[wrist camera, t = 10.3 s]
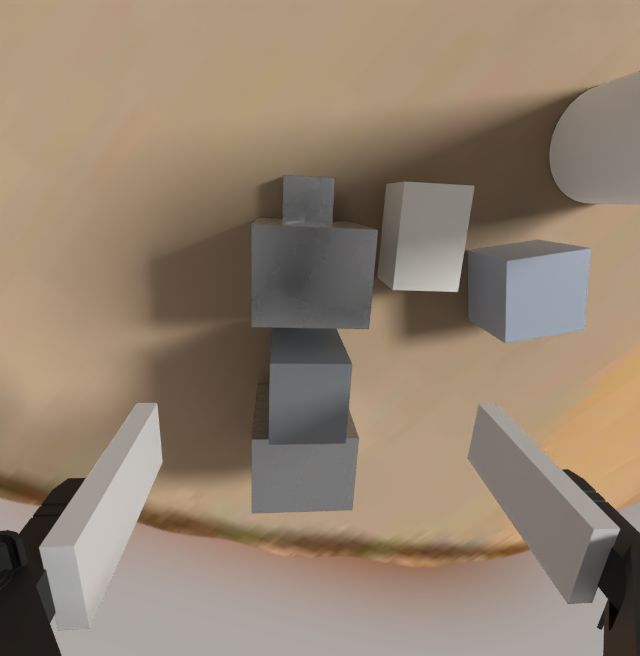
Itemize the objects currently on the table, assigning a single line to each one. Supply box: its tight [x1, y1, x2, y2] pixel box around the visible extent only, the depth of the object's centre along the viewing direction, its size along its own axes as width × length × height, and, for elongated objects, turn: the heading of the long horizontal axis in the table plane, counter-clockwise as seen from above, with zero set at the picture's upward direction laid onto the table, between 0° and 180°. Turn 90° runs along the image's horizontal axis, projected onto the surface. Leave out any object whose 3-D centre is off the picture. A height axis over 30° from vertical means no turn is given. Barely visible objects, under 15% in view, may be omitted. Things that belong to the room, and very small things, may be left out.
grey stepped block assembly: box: [251, 175, 378, 513], centre depth 24 cm, size 20×6×7 cm, turn 177°
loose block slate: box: [468, 240, 591, 343], centre depth 26 cm, size 5×5×5 cm
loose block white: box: [377, 182, 475, 292], centre depth 25 cm, size 6×4×4 cm, turn 177°
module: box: [269, 327, 352, 445], centre depth 23 cm, size 5×4×7 cm
